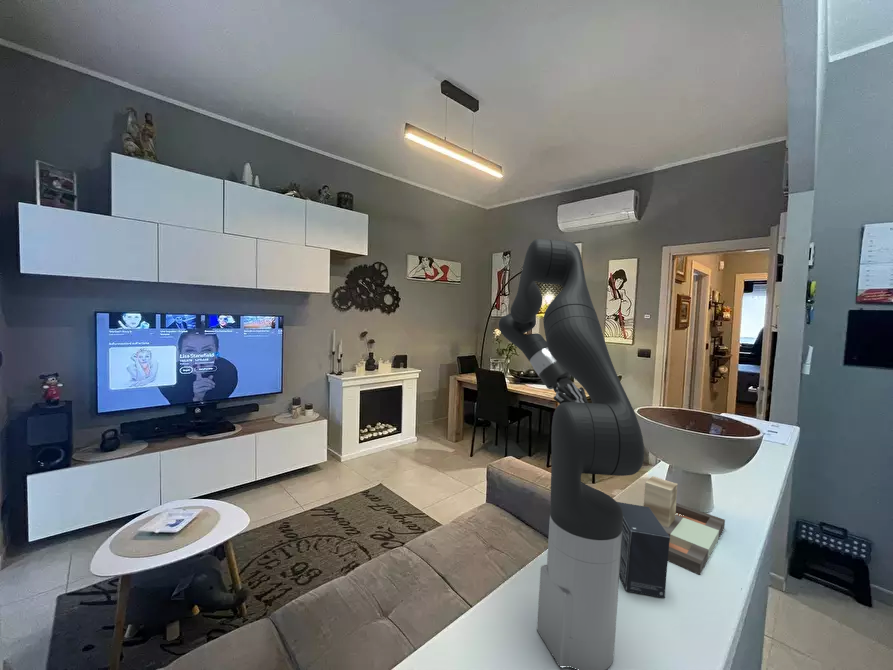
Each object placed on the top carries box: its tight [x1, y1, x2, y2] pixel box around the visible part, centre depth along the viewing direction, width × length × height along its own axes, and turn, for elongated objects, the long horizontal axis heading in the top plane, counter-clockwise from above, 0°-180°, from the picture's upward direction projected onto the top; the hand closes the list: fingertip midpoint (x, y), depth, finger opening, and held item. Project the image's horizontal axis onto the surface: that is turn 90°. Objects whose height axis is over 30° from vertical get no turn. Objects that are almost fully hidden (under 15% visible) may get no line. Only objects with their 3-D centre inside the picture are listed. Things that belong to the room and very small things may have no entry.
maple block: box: [643, 476, 679, 528], centre depth 81 cm, size 5×5×8 cm
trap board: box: [662, 502, 726, 576], centre depth 79 cm, size 23×13×2 cm, turn 134°
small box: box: [616, 501, 670, 599], centre depth 65 cm, size 11×6×10 cm, turn 168°
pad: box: [670, 518, 720, 559], centre depth 76 cm, size 10×6×2 cm, turn 134°
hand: (590, 422), depth 92 cm, fingers closed
